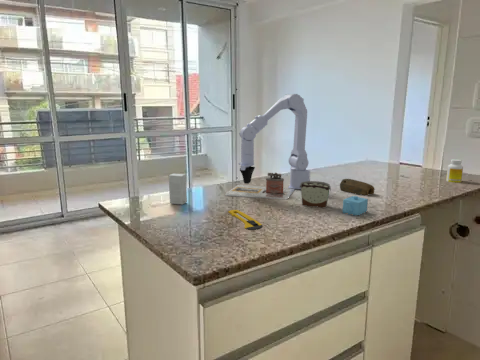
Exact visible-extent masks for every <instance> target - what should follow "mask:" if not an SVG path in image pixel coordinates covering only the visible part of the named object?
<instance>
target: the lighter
mask: <svg viewBox="0 0 480 360" xmlns="http://www.w3.org/2000/svg"><path fill="white" fill-rule="evenodd" d="M267 176H268V177H266V178H265V183H266V184H265V187H266V191H265V193H268V194H281V195H285V194H284V193H285V192H283V188H284V181H285V178H284V177H283V178H282V173H278V172H274V173H273V172H267Z"/></svg>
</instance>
